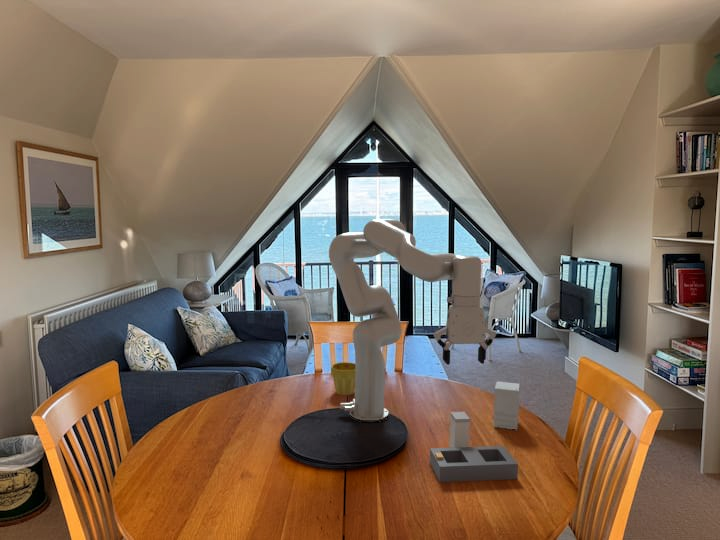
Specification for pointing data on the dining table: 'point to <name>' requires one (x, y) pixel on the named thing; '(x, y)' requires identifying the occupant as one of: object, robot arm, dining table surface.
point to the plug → (459, 430)
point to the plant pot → (344, 377)
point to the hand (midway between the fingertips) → (464, 362)
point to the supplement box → (506, 405)
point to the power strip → (473, 463)
